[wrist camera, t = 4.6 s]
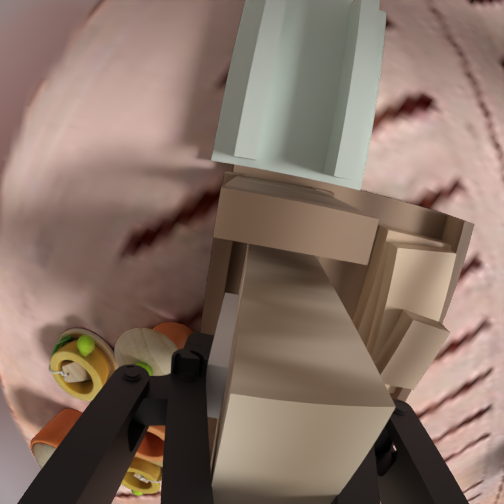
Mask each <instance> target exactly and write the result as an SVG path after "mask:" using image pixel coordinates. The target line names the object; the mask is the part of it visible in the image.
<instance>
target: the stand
mask: <svg viewBox="0 0 504 504" xmlns="http://www.w3.org/2000/svg"><path fill="white" fill-rule="evenodd" d="M379 7H380V0H353V1H351V0H245V4H244V8H243V12H242V16H241V20H240V24H239V28H238V32H237V37H236V41H235V45H234V50H233V54H232V59H231V63H230V68H229V72H228V77H227V82H226V87H225V91H224V96H223V101H222V106H221V111H220V116H219V122H218V127H217V132H216V137H215V143H214V148H213V154H212V160H211V161H217V162H223V163H229V164H235V165H241V166H247V167H252V168H258V169H263V170H269V171H274V172H279V173H284V174H289V175H294V176H299V177H303V178H308V179H313V180H317V181H322V182H326V183H331V184H335V185H339V186H344V187H348V188H352V189H356V190H361V185H362V180H363V175H364V171H365V166H366V160H367V155H368V150H369V144H370V139H371V133H372V127H373V121H374V115H375V109H376V102H377V95H378V88H379V81H380V73H381V65H382V57H383V47H384V37H385V26H386V14H387V12H384V11H381V10H379Z"/></svg>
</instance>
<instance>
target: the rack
mask: <svg viewBox="0 0 504 504" xmlns="http://www.w3.org/2000/svg"><path fill="white" fill-rule="evenodd" d="M473 228H474V224H473V223H470V222H467V221H465V220H462V219H459V218H456V217H453V216H450V215H447V214H444V213H441V212H437V211H434V210H431V209H427V208H424V207H421V206H417V205H414V204H410V203H407V202H403V201H399V200H396V199H392V198H388V197H384V196H381V195H377V194H373V193H369V192H365V191H361V190H356V189H352V188H348V187H344V186H339V185H335V184H331V183H326V182H322V181H317V180H313V179H308V178H303V177H299V176H294V175H289V174H284V173H279V172H274V171H269V170H263V169H258V168H252V167H247V166H241V165H235V164H234V169H233V172H230V171H225V173H224V179H223V184H222V187H221V191H220V197H219V203H218V209H217V215H216V221H215V227H214V234H213V237H214V239H213V245H212V252H211V258H210V265H209V272H208V279H207V286H206V293H205V300H204V307H203V314H202V322H201V329H200V333H205V334H210V335H215V332H216V328H217V324H218V320H219V316H220V312H221V308H222V303H223V299H224V295H225V293H230V294H236V295H239V289H240V284H241V278H242V273H243V268H244V262H245V257H246V251H247V246H248V244H254V245H260V246H265V247H271V248H276V249H282V250H287V251H293V252H298V253H304V254H309V255H315V256H316V257H317V259H318V261H319V262H320V264H321V266H322V268H323V269H324V271H325V273H326V275H327V277H328V278H329V280H330V282H331V284H332V286H333V287H334V289H335V291H336V293H337V295H338V296H339V298H340V300H341V302H342V304H343V305H344V307H345V309H346V311H347V313H348V315H349V317H350V318H351V320H352V322H353V324H354V326H355V328H356V330H357V331H358V333H359V335H360V337H361V339H362V341H363V343H364V345H365V347H366V349H367V351H368V352H369V354H370V356H371V358H372V360H373V362H374V364H375V366H376V368H377V370H378V372H379V374H380V376H381V378H382V380H383V382H384V384H385V386H386V388H387V390H388V392H389V394H390V396H391V398H392V399H399V400H402V401H404V402H405V401H406V399H407V397H408V396H409V394H410V392H411V390H412V389H413V390H414V389H415V387H416V386H417V384H418V383H419V381H420V380H421V378H422V377H423V375H424V374H425V372H426V371H427V369H428V368H429V366H430V365H431V363H432V362H433V360H434V358H435V357H436V355H437V354H438V352H439V350H440V349H441V347H442V345H443V344H444V342H445V340H446V339H447V337H448V335H449V334H450V332H449V331H448V330H447V329H446V328H445V327H444V326H443V325H442V323H443V320H444V318H445V315H446V313H447V310H448V307H449V305H450V302H451V299H452V296H453V294H454V291H455V288H456V285H457V282H458V279H459V276H460V273H461V270H462V267H463V263H464V260H465V257H466V253H467V250H468V246H469V243H470V239H471V235H472V231H473ZM216 425H217V418H211V417H208V434H209V450H210V464H211V458H212V451H213V444H214V438H215V431H216Z"/></svg>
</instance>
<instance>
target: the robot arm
mask: <svg viewBox="0 0 504 504" xmlns="http://www.w3.org/2000/svg"><path fill="white" fill-rule="evenodd" d="M238 299H239V295H236V294H230V293H225V295H224V299H223V303H222V308H221V312H220V316H219V320H218V324H217V328H216V332H215V335H210V334H205V333H199V332H193V333H192V334H190V335H189V336H188V338H187V340H186V343H185V345H184V348H182V349H178V350H176V351H175V352H173V354H172V358H171V373H169V374H167V375H163V376H149V373H148V371H147V370H146V369H145V368H143V367H141V366H139V365H133V364H128V365H123V366H120V367H119V368H117V369H116V370H115V371H114V373H113V374H112V375H111V377H110V378H109V379H108V381H107V382H106V383H105V384H104V386H103V387H102V388H101V390H100V391H99V392H98V394H97V395H96V396H95V397H94V399H93V400H92V401H91V403H90V404H89V405H88V407H87V408H86V409H85V411H84V412H83V413H82V415H81V416H80V417H79V419H78V420H77V421H76V423H75V424H74V425H73V427H72V428H71V429H70V431H69V432H68V433H67V435H66V436H65V437H64V439H63V440H62V442H61V443H60V444H59V446H58V447H57V448H56V450H55V451H54V453H53V454H52V455H51V457H50V458H49V459H48V461H47V462H46V464H45V465H44V466H43V468H42V469H41V471H40V472H39V473H38V475H37V476H36V478H35V479H34V480H33V482H32V483H31V485H30V486H29V488H28V489H27V490H26V492H25V493H24V495H23V496H22V498H21V499H20V500H19V502H18V503H17V504H111V503H112V501H113V499H114V497H115V495H116V493H117V491H118V489H119V487H120V485H121V483H122V481H123V479H124V477H125V475H126V473H127V471H128V469H129V466H130V464H131V462H132V460H133V458H134V456H135V454H136V452H137V450H138V448H139V446H140V444H141V442H142V440H143V438H144V436H145V434H146V432H147V430H148V428H149V426H165V438H164V451H163V467H162V486H161V504H214V502H213V490H212V487H211V485H212V478H211V465H210V450H209V434H208V417H211V418H217V419H219V415H220V410H221V405H222V399H223V394H224V389H225V383H226V378H227V372H228V367H229V360H230V353H231V346H232V339H233V333H234V326H235V319H236V312H237V305H238ZM392 400H393V402H394V404H395V406H396V407H395V409H394V411H393V413H392V414H391V416H390V418H389V420H388V421H387V423H386V425H385V427H384V428H383V430H382V432H381V433H380V435H379V436H378V438H377V440H376V441H375V443H374V444H373V446H372V448H371V449H370V451H369V452H368V454H367V455H366V457H365V458H364V460H363V461H362V463H361V464H360V466H359V467H358V469H357V470H356V471H355V473H354V474H353V476H352V477H351V479H350V480H349V481H348V483H347V484H346V485H345V487H344V488H343V489H342V491H341V492H340V493H339V494H338V495H337V496H336V498H335V499H334V500H333V501H332V503H331V504H380V501H381V504H469V503H468V501H467V499H466V497H465V496H464V494H463V492H462V490H461V489H460V487H459V485H458V483H457V482H456V480H455V478H454V476H453V475H452V473H451V471H450V470H449V468H448V466H447V465H446V463H445V461H444V459H443V458H442V456H441V454H440V453H439V451H438V449H437V448H436V446H435V445H434V443H433V441H432V440H431V438H430V436H429V435H428V433H427V431H426V430H425V428H424V427H423V425H422V423H421V422H420V420H419V419H418V417H417V415H416V414H415V412H414V411H413V409H412V408H411V406H410V405H409V404H407V403H406V402H404V401H402V400H399V399H392ZM394 445H395V447H396V451H395V450H394V448H393V446H394Z"/></svg>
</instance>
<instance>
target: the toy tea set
mask: <svg viewBox="0 0 504 504" xmlns="http://www.w3.org/2000/svg"><path fill="white" fill-rule="evenodd" d="M193 332H194V331H192V330H191V329H190V328H189V327H187V326H185V325H183V324H180V323H175V322H165V323H161V324H159V325H157V326H155V327H154V328H153V329H149V328H133V329H130V330H127V331H125V332H124V333H123V334H121V335H120V337H119V338H118V339H117V341H116V344H115V348H114V352H113V350H112V349H111V348H110V346H109V345H108V344H107V343H106V342H105V341H104V340H103V339H102V338H100V337H99V336H98V335H96V334H94V333H92V332H90V331H88V330H85V329H79V328H74V329H70V330H67V331H65V332H64V333H63V334H62V335H61V336H60V337H59V339H58V341H57V344H55V348H54V351H53V353H52V357H51V360H50V365H49V371H50V372H51V373H52V375H53V377H54V378H55V380H56V382H57V383H58V384H59V386H60V387H61V388H62V389H63V390H65V391H66V392H67V393H69V394H70V395H72V396H73V397H75V398H77V399H80V400H84V401H92V400H93V399H94V397H95V396H96V395H97V394H98V392H99V391H100V390H101V388H102V387H103V386H104V384H105V383H106V382H107V381H108V379H109V378H110V377H111V375H112V374H113V373H114V371H115V370H116V369H117V368H119V367H120V366H123V365H128V364H133V365H139V366H141V367H143V368H145V369H146V370H147V371H148V373H149V376H163V375H167V374H169V373H171V358H172V354H173V352H175V351H176V350H178V349H182V348H184V345H185V343H186V340H187V338H188V336H189V335H190V334H192V333H193ZM81 415H82V412H80V411H77V410H74V409H69V408H67V409H63V410H61V411H60V412H59V413H58V414H57V415H56V416H55V417H54V418H53V419H52V420H51V421H50V422H49V423H48V424H47V425H46V426H45V427H44V428H43V429H42V430H41V431H40V432H39V433H38V434H37V435H36V436H35V437H34V438H33V439H32V440H31V450H32V452H33V454H34V456H35V458H36V460H37V462H38V464H39V466H40V467H41V469H42V468H43V466H44V465H45V464H46V462H47V461H48V459H49V458H50V457H51V455H52V454H53V453H54V451H55V450H56V448H57V447H58V446H59V444H60V443H61V442H62V440H63V439H64V437H65V436H66V435H67V433H68V432H69V431H70V429H71V428H72V427H73V425H74V424H75V423H76V421H77V420H78V419H79V417H80V416H81ZM164 438H165V426H149V428H148V430H147V432H146V434H145V436H144V438H143V440H142V442H141V444H140V446H139V448H138V450H137V452H136V454H135V456H134V458H133V460H132V462H131V464H130V466H129V469H128V471H127V473H126V475H125V477H124V479H123V481H122V483H121V484H122V485H124V486H125V487H127V488H129V489H131V491H132V493H133V494H135V495H142V494H143V493H148V494H150V493H155V492H157V491H158V490H159V488H160V482H161V481H162V467H163V451H164Z"/></svg>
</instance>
